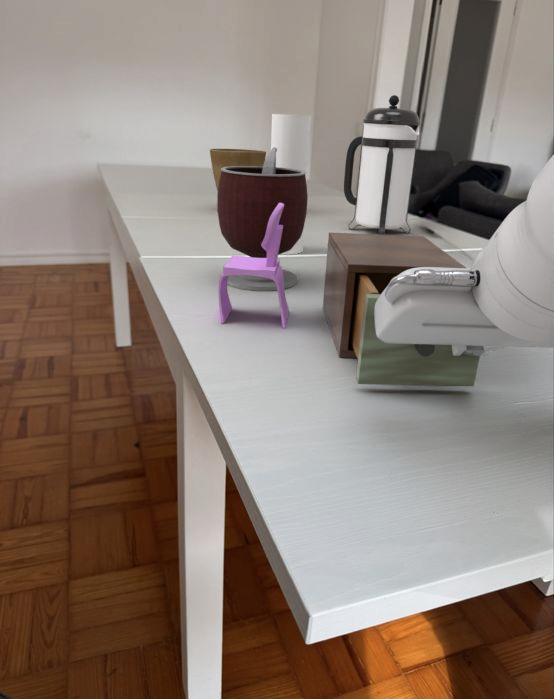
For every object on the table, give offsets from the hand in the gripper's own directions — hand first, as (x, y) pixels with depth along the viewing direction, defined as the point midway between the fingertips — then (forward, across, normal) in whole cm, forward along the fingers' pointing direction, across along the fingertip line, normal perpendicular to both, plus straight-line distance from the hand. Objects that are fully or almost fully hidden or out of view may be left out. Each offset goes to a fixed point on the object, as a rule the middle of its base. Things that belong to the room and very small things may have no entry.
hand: (466, 348), depth 52 cm
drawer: (+9, -4, +2) cm, 10 cm away
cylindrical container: (+47, -14, +40) cm, 63 cm away
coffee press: (+65, +9, +57) cm, 87 cm away
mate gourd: (+32, -19, +25) cm, 45 cm away
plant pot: (+79, -25, +71) cm, 110 cm away
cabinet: (+16, -4, +9) cm, 19 cm away
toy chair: (+19, -20, +11) cm, 30 cm away
